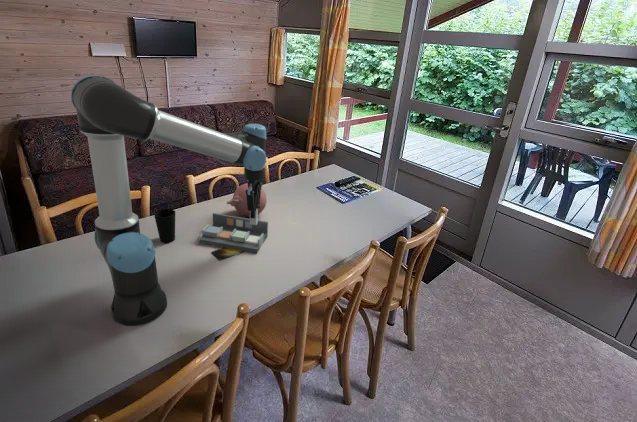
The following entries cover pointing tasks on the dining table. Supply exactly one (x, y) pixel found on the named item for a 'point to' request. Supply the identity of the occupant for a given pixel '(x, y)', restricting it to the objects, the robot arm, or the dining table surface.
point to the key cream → (252, 240)
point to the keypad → (232, 225)
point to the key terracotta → (225, 235)
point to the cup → (165, 224)
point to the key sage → (239, 236)
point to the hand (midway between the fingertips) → (253, 223)
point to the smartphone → (226, 253)
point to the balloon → (245, 200)
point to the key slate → (211, 231)
